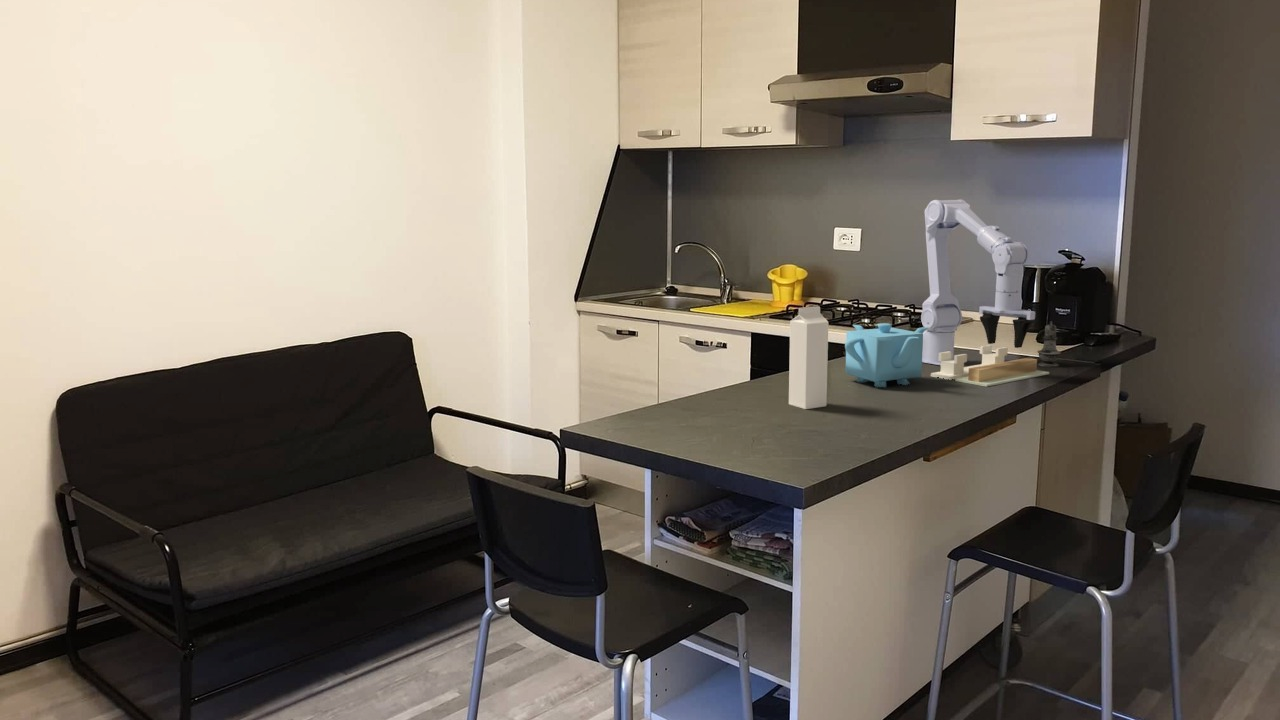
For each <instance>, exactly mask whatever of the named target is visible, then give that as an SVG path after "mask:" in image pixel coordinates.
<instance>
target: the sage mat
mask: <svg viewBox="0 0 1280 720" xmlns="http://www.w3.org/2000/svg"><path fill="white" fill-rule="evenodd" d="M1046 375H1050V371H1045V370H1038V369H1036V371H1033V372H1028V373H1023V374H1018V375H1013V376H1008V377H1003V378H998V379H992V380H987V381H982V382H975V381H969V380H968V377H963V378H957V379H954V380H955V382H960V383H966V384H970V385H976V386H982V387H991V386H996V385H997V386H998V385H1001V384H1006V383H1012V382H1017V381H1020V380H1021V381H1023V380H1026V379H1027V380H1028V379H1031V378H1036V377H1042V376H1046Z"/></svg>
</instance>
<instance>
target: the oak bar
mask: <svg viewBox="0 0 1280 720" xmlns="http://www.w3.org/2000/svg"><path fill="white" fill-rule="evenodd" d="M1037 367H1038V359H1036V358H1031V357H1029V358H1028V357H1025V358H1020V359H1019V358H1018V359H1014V360H1009V361H1004V362H1001V363H996V364H990V365H984V366H979V367H973V368H969V374H968V380H969V381H975V382H982V381H987V380H992V379H998V378H1003V377H1008V376H1013V375H1018V374H1023V373H1028V372H1033V371H1036V370H1038V369H1037Z"/></svg>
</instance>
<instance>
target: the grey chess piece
mask: <svg viewBox="0 0 1280 720" xmlns="http://www.w3.org/2000/svg"><path fill="white" fill-rule="evenodd" d="M1042 339H1043V346H1042V349H1040V350H1037V353H1038V358H1039V359H1040V360H1041V361H1040V362H1039V363H1038V362H1037V366H1040V367H1047V368H1057V367H1059V366H1060V364H1058V363H1057V362H1056V361H1058V360H1059V358H1060V355H1061V354H1062V352H1061V351H1060V350H1058V349H1057V340H1058V337H1057V326H1056V325H1055V324H1053V321H1052V320H1051V321H1050V322H1049V323H1048V324H1046V325H1045V327H1044V336H1042Z"/></svg>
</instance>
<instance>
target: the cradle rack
mask: <svg viewBox="0 0 1280 720" xmlns="http://www.w3.org/2000/svg"><path fill="white" fill-rule="evenodd" d="M992 348H993V345H992V344H986V345H981V346H980V345H979V354H980V355H981V363H980V364H974V365H969V366H965V363H967V362H968V354H967V353H962V354H954V357H953V360H952V359H951V352H950V351H948V352H941V353H939V357H938V361H941V365H940V371H936V372H931V373H930V377H933V378H937V377H939V379H943V378H944V380H948V379H949V381H952V379H953V380H955V379H957V378H963V377H968V374H969V368H973V367H979V366H984V365H990V364H996V363H1001V362H1005V356H1008V352H1009V351H1008V349H1009V347H1007V346H1004V347H998V348H995V352H992V350H993V349H992Z"/></svg>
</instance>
